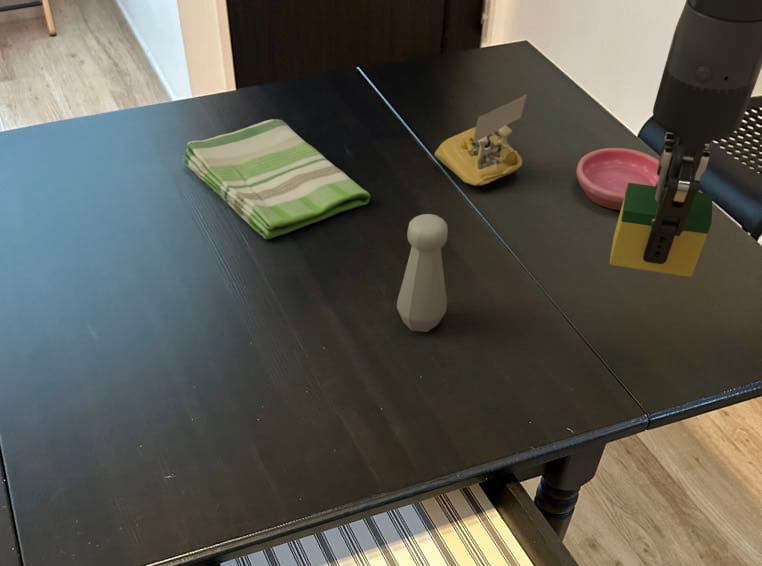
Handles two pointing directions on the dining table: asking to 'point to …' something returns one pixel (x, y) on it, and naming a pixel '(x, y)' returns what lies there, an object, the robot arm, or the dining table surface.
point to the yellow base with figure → (484, 147)
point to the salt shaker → (424, 274)
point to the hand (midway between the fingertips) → (655, 243)
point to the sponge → (638, 227)
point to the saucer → (615, 174)
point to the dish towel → (273, 178)
